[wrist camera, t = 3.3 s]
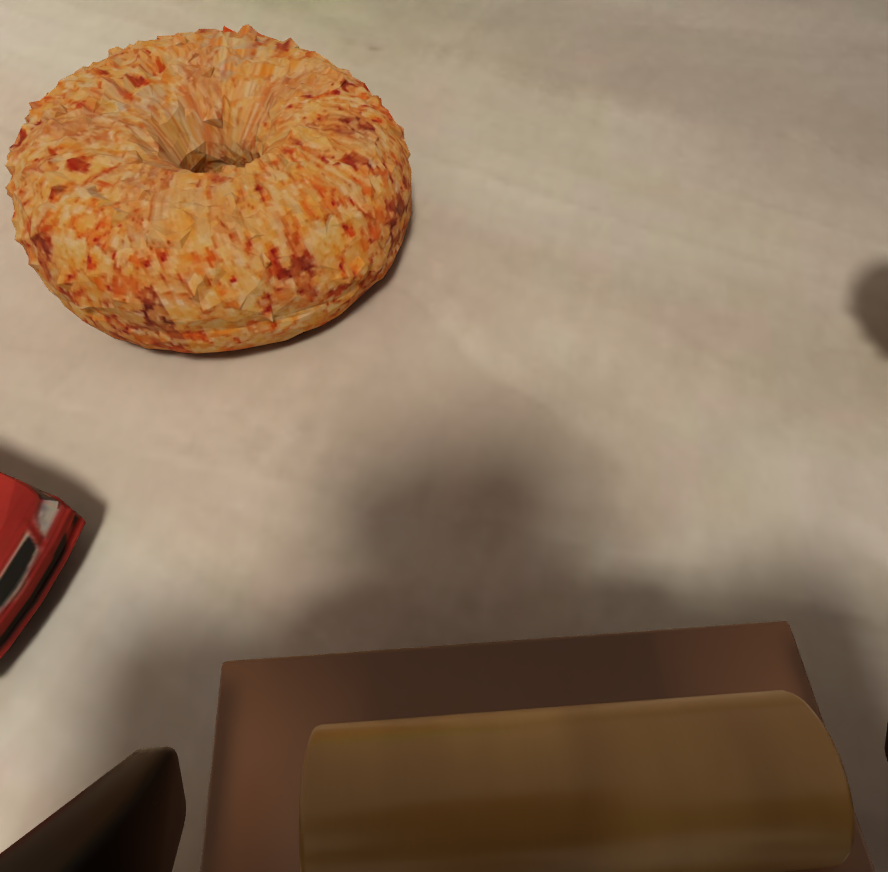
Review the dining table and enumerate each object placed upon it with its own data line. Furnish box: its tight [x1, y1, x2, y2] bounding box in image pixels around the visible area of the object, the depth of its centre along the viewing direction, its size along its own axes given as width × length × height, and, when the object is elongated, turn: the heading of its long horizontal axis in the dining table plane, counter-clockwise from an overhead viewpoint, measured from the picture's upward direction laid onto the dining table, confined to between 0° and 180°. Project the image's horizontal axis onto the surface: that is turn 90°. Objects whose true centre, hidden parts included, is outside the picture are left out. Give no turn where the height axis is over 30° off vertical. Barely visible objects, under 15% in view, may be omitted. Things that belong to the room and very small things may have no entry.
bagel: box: [5, 25, 412, 354], centre depth 22 cm, size 13×14×5 cm
